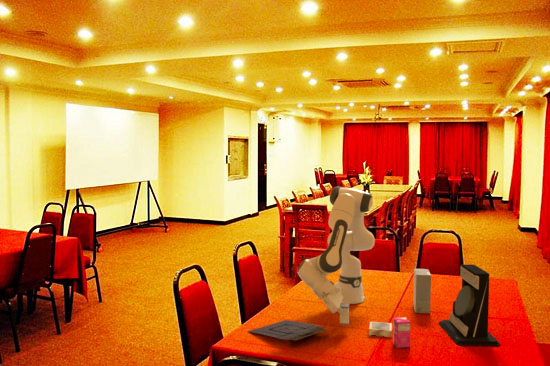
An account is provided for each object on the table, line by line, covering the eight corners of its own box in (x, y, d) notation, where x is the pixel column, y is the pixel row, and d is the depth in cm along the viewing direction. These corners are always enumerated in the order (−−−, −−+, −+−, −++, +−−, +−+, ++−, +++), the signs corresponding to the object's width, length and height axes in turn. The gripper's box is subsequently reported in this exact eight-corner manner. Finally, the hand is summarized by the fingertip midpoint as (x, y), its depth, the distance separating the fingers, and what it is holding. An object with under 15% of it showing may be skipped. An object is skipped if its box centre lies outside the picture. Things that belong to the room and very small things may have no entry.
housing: (339, 324, 227) (339, 306, 226) (340, 321, 232) (340, 302, 231) (348, 325, 226) (348, 306, 225) (349, 321, 231) (349, 303, 230)
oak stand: (368, 335, 225) (369, 328, 225) (370, 327, 235) (370, 321, 235) (391, 337, 223) (391, 330, 223) (391, 329, 233) (392, 322, 233)
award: (437, 322, 243) (438, 261, 242) (476, 322, 243) (477, 261, 241) (458, 346, 213) (459, 276, 211) (502, 347, 212) (504, 277, 211)
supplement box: (392, 343, 216) (393, 317, 215) (406, 343, 216) (406, 317, 215) (397, 348, 210) (397, 322, 209) (410, 348, 210) (411, 321, 210)
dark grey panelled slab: (293, 348, 207) (292, 339, 207) (247, 337, 230) (247, 329, 230) (332, 334, 224) (331, 326, 224) (286, 325, 246) (285, 317, 246)
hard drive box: (430, 314, 256) (431, 275, 254) (415, 313, 257) (415, 274, 256) (427, 305, 271) (428, 268, 270) (412, 304, 272) (413, 268, 271)
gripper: (326, 291, 219) (348, 315, 218) (332, 280, 239) (352, 301, 238) (316, 301, 221) (338, 324, 219) (322, 288, 241) (343, 310, 239)
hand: (345, 312), depth 228 cm, fingers closed on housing, 5 cm apart
